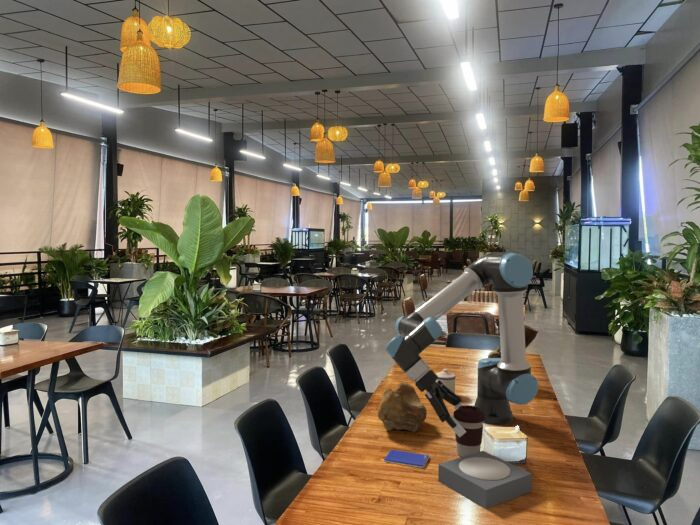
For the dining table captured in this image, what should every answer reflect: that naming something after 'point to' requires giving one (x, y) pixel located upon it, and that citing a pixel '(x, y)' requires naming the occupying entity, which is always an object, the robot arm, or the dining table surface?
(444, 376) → the teacup with lid
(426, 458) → the hard drive
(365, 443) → the dining table surface
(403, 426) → the rough brown rock
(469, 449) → the coffee cup
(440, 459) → the dining table surface
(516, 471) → the slate stand
